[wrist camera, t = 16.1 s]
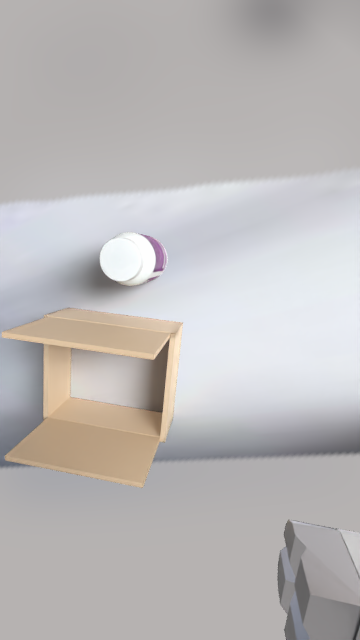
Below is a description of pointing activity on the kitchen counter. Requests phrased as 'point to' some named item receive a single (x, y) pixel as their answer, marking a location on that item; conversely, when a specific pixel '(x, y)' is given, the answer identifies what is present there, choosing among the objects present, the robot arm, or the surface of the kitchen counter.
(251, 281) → the kitchen counter surface
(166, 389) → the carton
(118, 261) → the pill bottle
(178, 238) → the kitchen counter surface
